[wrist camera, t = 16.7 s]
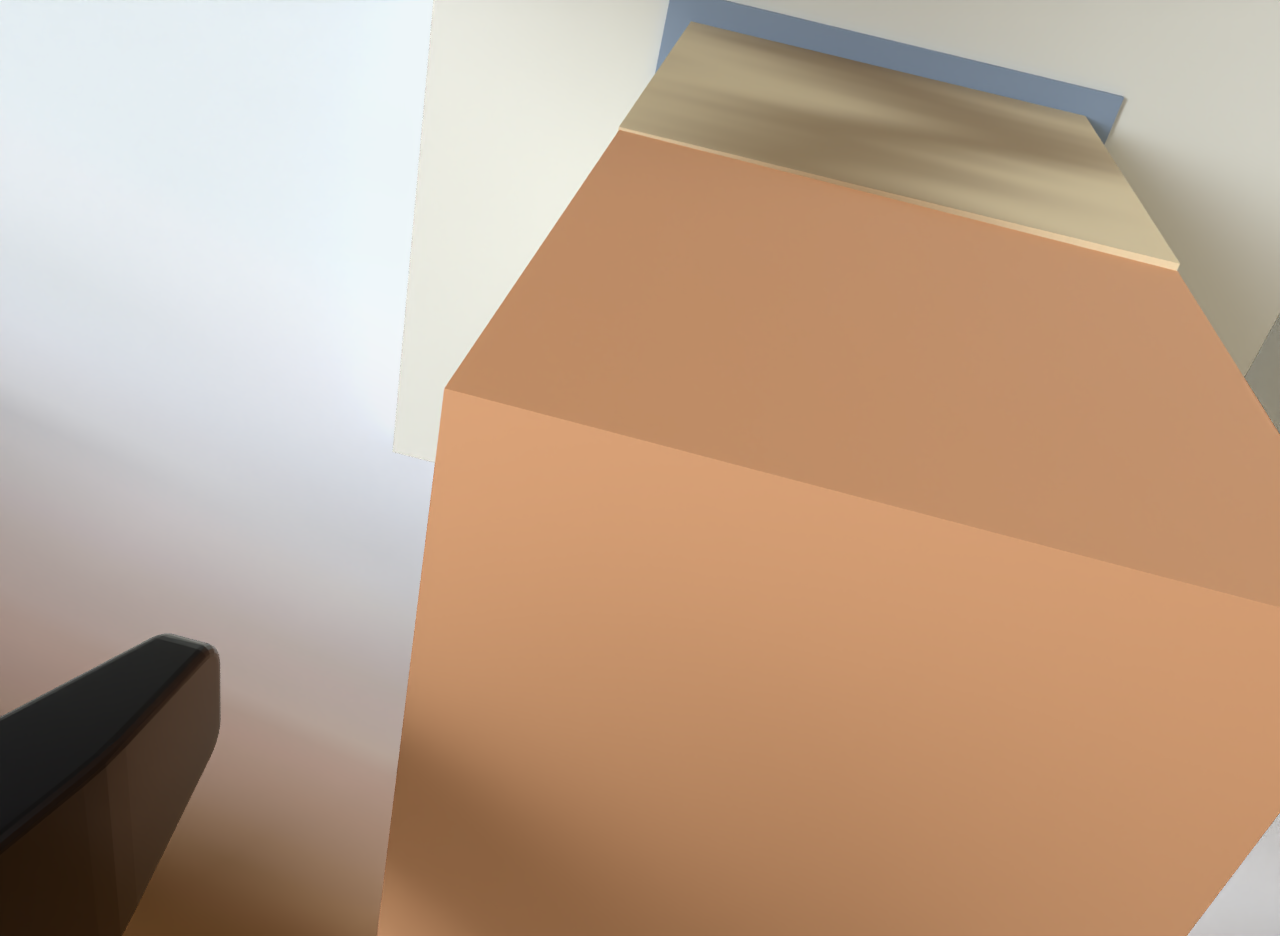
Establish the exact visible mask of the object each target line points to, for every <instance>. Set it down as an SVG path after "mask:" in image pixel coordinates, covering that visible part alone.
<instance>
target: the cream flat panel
mask: <svg viewBox="0 0 1280 936" xmlns="http://www.w3.org/2000/svg"><path fill="white" fill-rule="evenodd" d="M691 21H692V22H696V23H700V24H705V25H709V26H713V27H717V28H721V29H725V30H730V31H734V32H738V33H742V34H746V35H750V36H754V37H759V38H763V39H767V40H771V41H775V42H779V43H784V44H788V45H792V46H796V47H800V48H804V49H809V50H813V51H817V52H821V53H825V54H829V55H834V56H838V57H842V58H846V59H850V60H854V61H859V62H863V63H867V64H871V65H875V66H879V67H884V68H888V69H892V70H896V71H900V72H904V73H909V74H913V75H917V76H921V77H925V78H929V79H934V80H938V81H942V82H946V83H950V84H954V85H959V86H963V87H967V88H971V89H975V90H979V91H984V92H988V93H992V94H996V95H1000V96H1004V97H1009V98H1013V99H1017V100H1021V101H1025V102H1029V103H1034V104H1038V105H1042V106H1046V107H1050V108H1054V109H1059V110H1063V111H1067V112H1071V113H1075V114H1079V115H1084V116H1086V117H1087V119H1088V121H1089V122H1090V124H1091V125H1092V127H1093V128H1094V130H1095V132H1096V133H1097V135H1098V136H1099V138H1100V139H1101V141H1102V142H1103V144H1104V146H1105V147H1106V149H1107V150H1108V152H1109V153H1110V155H1111V157H1112V158H1113V160H1114V161H1115V163H1116V164H1117V166H1118V168H1119V169H1120V171H1121V172H1122V174H1123V175H1124V177H1125V178H1126V180H1127V182H1128V183H1129V185H1130V186H1131V188H1132V189H1133V191H1134V193H1135V194H1136V196H1137V197H1138V199H1139V200H1140V202H1141V203H1142V205H1143V207H1144V208H1145V210H1146V211H1147V213H1148V214H1149V216H1150V218H1151V219H1152V221H1153V222H1154V224H1155V225H1156V227H1157V228H1158V230H1159V232H1160V233H1161V235H1162V236H1163V238H1164V239H1165V241H1166V243H1167V244H1168V246H1169V247H1170V249H1171V250H1172V252H1173V253H1174V255H1175V257H1176V258H1177V260H1178V261H1179V263H1180V265H1179V267H1178V269H1177V271H1178V273H1179V274H1180V276H1181V277H1182V279H1183V281H1184V282H1185V284H1186V285H1187V287H1188V289H1189V290H1190V292H1191V293H1192V295H1193V297H1194V298H1195V300H1196V301H1197V303H1198V305H1199V306H1200V308H1201V309H1202V311H1203V313H1204V314H1205V316H1206V317H1207V319H1208V321H1209V322H1210V324H1211V325H1212V327H1213V329H1214V330H1215V332H1216V333H1217V335H1218V337H1219V338H1220V340H1221V341H1222V343H1223V345H1224V346H1225V348H1226V349H1227V351H1228V353H1229V354H1230V356H1231V357H1232V359H1233V361H1234V362H1235V364H1236V365H1237V367H1238V369H1239V370H1240V372H1241V373H1242V375H1243V377H1245V376H1246V374H1247V372H1248V370H1249V368H1250V366H1251V365H1252V363H1253V361H1254V359H1255V357H1256V356H1257V354H1258V352H1259V350H1260V348H1261V346H1262V345H1263V343H1264V341H1265V339H1266V337H1267V335H1268V334H1269V332H1270V330H1271V328H1272V326H1273V325H1274V323H1275V321H1276V319H1277V317H1278V315H1279V314H1280V0H433V11H432V22H431V33H430V44H429V55H428V66H427V77H426V88H425V99H424V111H423V122H422V133H421V144H420V155H419V166H418V177H417V188H416V199H415V210H414V221H413V232H412V243H411V254H410V265H409V277H408V288H407V299H406V310H405V321H404V332H403V343H402V354H401V365H400V376H399V387H398V398H397V409H396V420H395V431H394V442H393V452H395V453H399V454H403V455H407V456H411V457H415V458H418V459H422V460H426V461H430V462H434V463H435V459H436V451H437V443H438V435H439V427H440V418H441V410H442V402H443V394H444V388H445V386H446V385H447V383H448V382H449V380H450V379H451V377H452V376H453V375H454V373H455V372H456V370H457V369H458V367H459V366H460V364H461V363H462V361H463V360H464V358H465V357H466V355H467V354H468V352H469V351H470V349H471V348H472V346H473V345H474V344H475V342H476V341H477V339H478V338H479V336H480V335H481V333H482V332H483V330H484V329H485V327H486V326H487V324H488V323H489V321H490V320H491V318H492V317H493V315H494V314H495V312H496V311H497V310H498V308H499V307H500V305H501V304H502V302H503V301H504V299H505V298H506V296H507V295H508V293H509V292H510V290H511V289H512V287H513V286H514V284H515V283H516V281H517V280H518V279H519V277H520V276H521V274H522V273H523V271H524V270H525V268H526V267H527V265H528V264H529V262H530V261H531V259H532V258H533V256H534V255H535V253H536V252H537V250H538V249H539V248H540V246H541V245H542V243H543V242H544V240H545V239H546V237H547V236H548V234H549V233H550V231H551V230H552V228H553V227H554V225H555V224H556V222H557V221H558V219H559V218H560V216H561V215H562V214H563V212H564V211H565V209H566V208H567V206H568V205H569V203H570V202H571V200H572V199H573V197H574V196H575V194H576V193H577V191H578V190H579V188H580V187H581V185H582V184H583V183H584V181H585V180H586V178H587V177H588V175H589V174H590V172H591V171H592V169H593V168H594V166H595V165H596V163H597V162H598V160H599V159H600V157H601V156H602V154H603V153H604V151H605V150H606V149H607V147H608V146H609V144H610V143H611V141H612V140H613V138H614V137H615V135H616V134H617V132H618V129H619V126H620V124H621V123H622V121H623V120H624V119H625V117H626V116H627V114H628V113H629V111H630V110H631V108H632V107H633V105H634V104H635V102H636V101H637V100H638V98H639V97H640V95H641V94H642V92H643V91H644V89H645V88H646V86H647V85H648V83H649V82H650V81H651V79H652V78H653V76H654V75H655V73H656V72H657V70H658V69H659V67H660V66H661V64H662V63H663V62H664V60H665V59H666V57H667V56H668V54H669V53H670V51H671V50H672V48H673V47H674V45H675V44H676V42H677V41H678V40H679V38H680V37H681V35H682V34H683V32H684V31H685V29H686V28H687V26H688V25H689V23H690V22H691Z"/></svg>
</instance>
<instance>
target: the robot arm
mask: <svg viewBox="0 0 1280 936" xmlns="http://www.w3.org/2000/svg"><path fill="white" fill-rule="evenodd" d="M219 729H220V659H219V654H218V652H217V650H216V648H215V647H214V646H212V645H210V644H208V643H204V642H200V641H197V640H193V639H189V638H185V637H182V636H178V635H174V634H161V635H157V636H155V637H152V638H150V639H148V640H146V641H144V642H142V643H141V644H139V645H137V646H135V647H133V648H131V649H129V650H127V651H125V652H123V653H122V654H120V655H118V656H116V657H114V658H112V659H110V660H108V661H106V662H104V663H102V664H101V665H99V666H97V667H95V668H93V669H91V670H89V671H87V672H85V673H83V674H81V675H80V676H78V677H76V678H74V679H72V680H70V681H68V682H66V683H64V684H62V685H60V686H59V687H57V688H55V689H53V690H51V691H49V692H47V693H45V694H43V695H41V696H39V697H38V698H36V699H34V700H32V701H30V702H28V703H26V704H24V705H22V706H20V707H18V708H17V709H15V710H13V711H11V712H9V713H7V714H5V715H3V716H1V717H0V936H122V935H123V933H124V931H125V929H126V927H127V925H128V923H129V921H130V919H131V917H132V915H133V913H134V911H135V910H136V908H137V906H138V904H139V902H140V900H141V897H142V895H143V893H144V891H145V889H146V887H147V885H148V883H149V881H150V879H151V877H152V875H153V873H154V871H155V869H156V867H157V865H158V863H159V861H160V859H161V857H162V855H163V853H164V851H165V849H166V846H167V844H168V842H169V840H170V838H171V836H172V834H173V832H174V830H175V828H176V826H177V824H178V822H179V820H180V818H181V816H182V814H183V812H184V810H185V808H186V806H187V804H188V802H189V800H190V798H191V795H192V793H193V791H194V789H195V787H196V785H197V783H198V781H199V779H200V777H201V775H202V773H203V771H204V769H205V767H206V765H207V763H208V761H209V759H210V757H211V754H212V752H213V750H214V747H215V744H216V742H217V738H218V734H219Z"/></svg>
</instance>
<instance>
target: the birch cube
mask: <svg viewBox="0 0 1280 936" xmlns="http://www.w3.org/2000/svg"><path fill="white" fill-rule="evenodd" d="M619 130H622V131H626V132H630V133H634V134H638V135H642V136H646V137H650V138H654V139H658V140H662V141H666V142H670V143H674V144H678V145H682V146H686V147H689V148H693V149H697V150H701V151H705V152H709V153H713V154H717V155H721V156H725V157H729V158H733V159H737V160H741V161H745V162H749V163H753V164H757V165H761V166H765V167H768V168H772V169H776V170H780V171H784V172H788V173H792V174H796V175H800V176H804V177H808V178H812V179H816V180H820V181H824V182H828V183H832V184H836V185H840V186H844V187H847V188H851V189H855V190H859V191H863V192H867V193H871V194H875V195H879V196H883V197H887V198H891V199H895V200H899V201H903V202H907V203H911V204H915V205H919V206H923V207H926V208H930V209H934V210H938V211H942V212H946V213H950V214H954V215H958V216H962V217H966V218H970V219H974V220H978V221H982V222H986V223H990V224H994V225H998V226H1001V227H1005V228H1009V229H1013V230H1017V231H1021V232H1025V233H1029V234H1033V235H1037V236H1041V237H1045V238H1049V239H1053V240H1057V241H1061V242H1065V243H1069V244H1073V245H1077V246H1080V247H1084V248H1088V249H1092V250H1096V251H1100V252H1104V253H1108V254H1112V255H1116V256H1120V257H1124V258H1128V259H1132V260H1136V261H1140V262H1144V263H1148V264H1152V265H1156V266H1159V267H1163V268H1167V269H1171V270H1175V271H1177V269H1178V267H1179V265H1180V263H1179V261H1178V260H1177V258H1176V257H1175V255H1174V253H1173V252H1172V250H1171V249H1170V247H1169V246H1168V244H1167V243H1166V241H1165V239H1164V238H1163V236H1162V235H1161V233H1160V232H1159V230H1158V228H1157V227H1156V225H1155V224H1154V222H1153V221H1152V219H1151V218H1150V216H1149V214H1148V213H1147V211H1146V210H1145V208H1144V207H1143V205H1142V203H1141V202H1140V200H1139V199H1138V197H1137V196H1136V194H1135V193H1134V191H1133V189H1132V188H1131V186H1130V185H1129V183H1128V182H1127V180H1126V178H1125V177H1124V175H1123V174H1122V172H1121V171H1120V169H1119V168H1118V166H1117V164H1116V163H1115V161H1114V160H1113V158H1112V157H1111V155H1110V153H1109V152H1108V150H1107V149H1106V147H1105V146H1104V144H1103V142H1102V141H1101V139H1100V138H1099V136H1098V135H1097V133H1096V132H1095V130H1094V128H1093V127H1092V125H1091V124H1090V122H1089V121H1088V119H1087V117H1086V116H1084V115H1079V114H1075V113H1071V112H1067V111H1063V110H1059V109H1054V108H1050V107H1046V106H1042V105H1038V104H1034V103H1029V102H1025V101H1021V100H1017V99H1013V98H1009V97H1004V96H1000V95H996V94H992V93H988V92H984V91H979V90H975V89H971V88H967V87H963V86H959V85H954V84H950V83H946V82H942V81H938V80H934V79H929V78H925V77H921V76H917V75H913V74H909V73H904V72H900V71H896V70H892V69H888V68H884V67H879V66H875V65H871V64H867V63H863V62H859V61H854V60H850V59H846V58H842V57H838V56H834V55H829V54H825V53H821V52H817V51H813V50H809V49H804V48H800V47H796V46H792V45H788V44H784V43H779V42H775V41H771V40H767V39H763V38H759V37H754V36H750V35H746V34H742V33H738V32H734V31H730V30H725V29H721V28H717V27H713V26H709V25H705V24H700V23H696V22H692V21H691V22H690V23H689V25H688V26H687V28H686V29H685V31H684V32H683V34H682V35H681V37H680V38H679V40H678V41H677V42H676V44H675V45H674V47H673V48H672V50H671V51H670V53H669V54H668V56H667V57H666V59H665V60H664V62H663V63H662V64H661V66H660V67H659V69H658V70H657V72H656V73H655V75H654V76H653V78H652V79H651V81H650V82H649V83H648V85H647V86H646V88H645V89H644V91H643V92H642V94H641V95H640V97H639V98H638V100H637V101H636V102H635V104H634V105H633V107H632V108H631V110H630V111H629V113H628V114H627V116H626V117H625V119H624V120H623V121H622V123H621V124H620V126H619V129H618V131H619Z"/></svg>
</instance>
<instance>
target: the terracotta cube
mask: <svg viewBox="0 0 1280 936" xmlns="http://www.w3.org/2000/svg"><path fill="white" fill-rule="evenodd" d="M1279 813H1280V434H1279V432H1278V431H1277V429H1276V428H1275V426H1274V424H1273V423H1272V421H1271V420H1270V418H1269V416H1268V415H1267V413H1266V412H1265V410H1264V408H1263V407H1262V405H1261V404H1260V402H1259V400H1258V399H1257V397H1256V396H1255V394H1254V392H1253V391H1252V389H1251V388H1250V386H1249V384H1248V383H1247V381H1246V380H1245V378H1244V377H1243V375H1242V373H1241V372H1240V370H1239V369H1238V367H1237V365H1236V364H1235V362H1234V361H1233V359H1232V357H1231V356H1230V354H1229V353H1228V351H1227V349H1226V348H1225V346H1224V345H1223V343H1222V341H1221V340H1220V338H1219V337H1218V335H1217V333H1216V332H1215V330H1214V329H1213V327H1212V325H1211V324H1210V322H1209V321H1208V319H1207V317H1206V316H1205V314H1204V313H1203V311H1202V309H1201V308H1200V306H1199V305H1198V303H1197V301H1196V300H1195V298H1194V297H1193V295H1192V293H1191V292H1190V290H1189V289H1188V287H1187V285H1186V284H1185V282H1184V281H1183V279H1182V277H1181V276H1180V274H1179V273H1178V271H1175V270H1171V269H1167V268H1163V267H1159V266H1156V265H1152V264H1148V263H1144V262H1140V261H1136V260H1132V259H1128V258H1124V257H1120V256H1116V255H1112V254H1108V253H1104V252H1100V251H1096V250H1092V249H1088V248H1084V247H1080V246H1077V245H1073V244H1069V243H1065V242H1061V241H1057V240H1053V239H1049V238H1045V237H1041V236H1037V235H1033V234H1029V233H1025V232H1021V231H1017V230H1013V229H1009V228H1005V227H1001V226H998V225H994V224H990V223H986V222H982V221H978V220H974V219H970V218H966V217H962V216H958V215H954V214H950V213H946V212H942V211H938V210H934V209H930V208H926V207H923V206H919V205H915V204H911V203H907V202H903V201H899V200H895V199H891V198H887V197H883V196H879V195H875V194H871V193H867V192H863V191H859V190H855V189H851V188H847V187H844V186H840V185H836V184H832V183H828V182H824V181H820V180H816V179H812V178H808V177H804V176H800V175H796V174H792V173H788V172H784V171H780V170H776V169H772V168H768V167H765V166H761V165H757V164H753V163H749V162H745V161H741V160H737V159H733V158H729V157H725V156H721V155H717V154H713V153H709V152H705V151H701V150H697V149H693V148H689V147H686V146H682V145H678V144H674V143H670V142H666V141H662V140H658V139H654V138H650V137H646V136H642V135H638V134H634V133H630V132H626V131H622V130H619V131H618V132H617V134H616V135H615V137H614V138H613V140H612V141H611V143H610V144H609V146H608V147H607V149H606V150H605V151H604V153H603V154H602V156H601V157H600V159H599V160H598V162H597V163H596V165H595V166H594V168H593V169H592V171H591V172H590V174H589V175H588V177H587V178H586V180H585V181H584V183H583V184H582V185H581V187H580V188H579V190H578V191H577V193H576V194H575V196H574V197H573V199H572V200H571V202H570V203H569V205H568V206H567V208H566V209H565V211H564V212H563V214H562V215H561V216H560V218H559V219H558V221H557V222H556V224H555V225H554V227H553V228H552V230H551V231H550V233H549V234H548V236H547V237H546V239H545V240H544V242H543V243H542V245H541V246H540V248H539V249H538V250H537V252H536V253H535V255H534V256H533V258H532V259H531V261H530V262H529V264H528V265H527V267H526V268H525V270H524V271H523V273H522V274H521V276H520V277H519V279H518V280H517V281H516V283H515V284H514V286H513V287H512V289H511V290H510V292H509V293H508V295H507V296H506V298H505V299H504V301H503V302H502V304H501V305H500V307H499V308H498V310H497V311H496V312H495V314H494V315H493V317H492V318H491V320H490V321H489V323H488V324H487V326H486V327H485V329H484V330H483V332H482V333H481V335H480V336H479V338H478V339H477V341H476V342H475V344H474V345H473V346H472V348H471V349H470V351H469V352H468V354H467V355H466V357H465V358H464V360H463V361H462V363H461V364H460V366H459V367H458V369H457V370H456V372H455V373H454V375H453V376H452V377H451V379H450V380H449V382H448V383H447V385H446V386H445V388H444V394H443V402H442V410H441V418H440V427H439V435H438V443H437V451H436V459H435V467H434V475H433V483H432V492H431V500H430V508H429V516H428V524H427V532H426V540H425V549H424V557H423V565H422V573H421V581H420V589H419V597H418V605H417V614H416V622H415V630H414V638H413V646H412V654H411V662H410V671H409V679H408V687H407V695H406V703H405V711H404V719H403V727H402V736H401V744H400V752H399V760H398V768H397V776H396V784H395V793H394V801H393V809H392V817H391V825H390V833H389V841H388V849H387V858H386V866H385V874H384V882H383V890H382V898H381V906H380V915H379V923H378V931H377V936H1187V935H1188V933H1189V932H1190V931H1191V929H1192V928H1193V927H1194V925H1195V924H1196V923H1197V922H1198V920H1199V919H1200V918H1201V916H1202V915H1203V914H1204V912H1205V911H1206V910H1207V908H1208V907H1209V906H1210V904H1211V903H1212V902H1213V900H1214V899H1215V898H1216V896H1217V895H1218V894H1219V892H1220V891H1221V890H1222V888H1223V887H1224V886H1225V884H1226V883H1227V882H1228V880H1229V879H1230V878H1231V877H1232V875H1233V874H1234V873H1235V871H1236V870H1237V869H1238V867H1239V866H1240V865H1241V863H1242V862H1243V861H1244V859H1245V858H1246V857H1247V855H1248V854H1249V853H1250V851H1251V850H1252V849H1253V847H1254V846H1255V845H1256V843H1257V842H1258V841H1259V839H1260V838H1261V837H1262V836H1263V834H1264V833H1265V832H1266V830H1267V829H1268V828H1269V826H1270V825H1271V824H1272V822H1273V821H1274V820H1275V818H1276V817H1277V816H1278V814H1279Z"/></svg>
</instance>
